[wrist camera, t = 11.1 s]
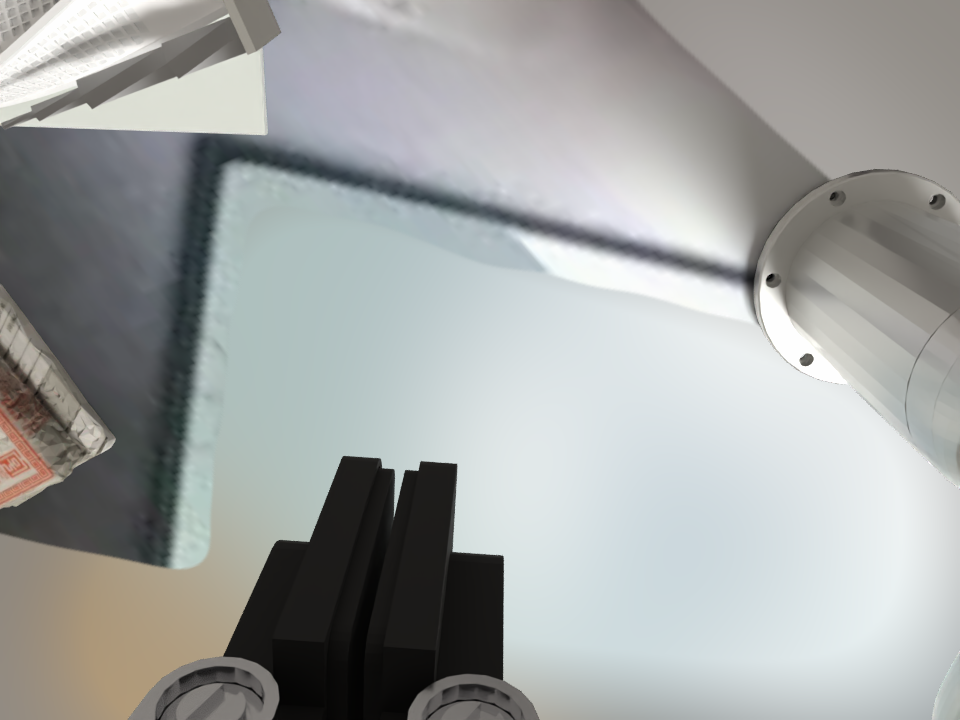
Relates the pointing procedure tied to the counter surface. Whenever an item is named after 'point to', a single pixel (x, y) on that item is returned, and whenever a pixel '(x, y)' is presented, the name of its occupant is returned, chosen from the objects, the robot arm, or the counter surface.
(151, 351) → the counter surface
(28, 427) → the packaged product
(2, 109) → the mat
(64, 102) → the twisted tower model
